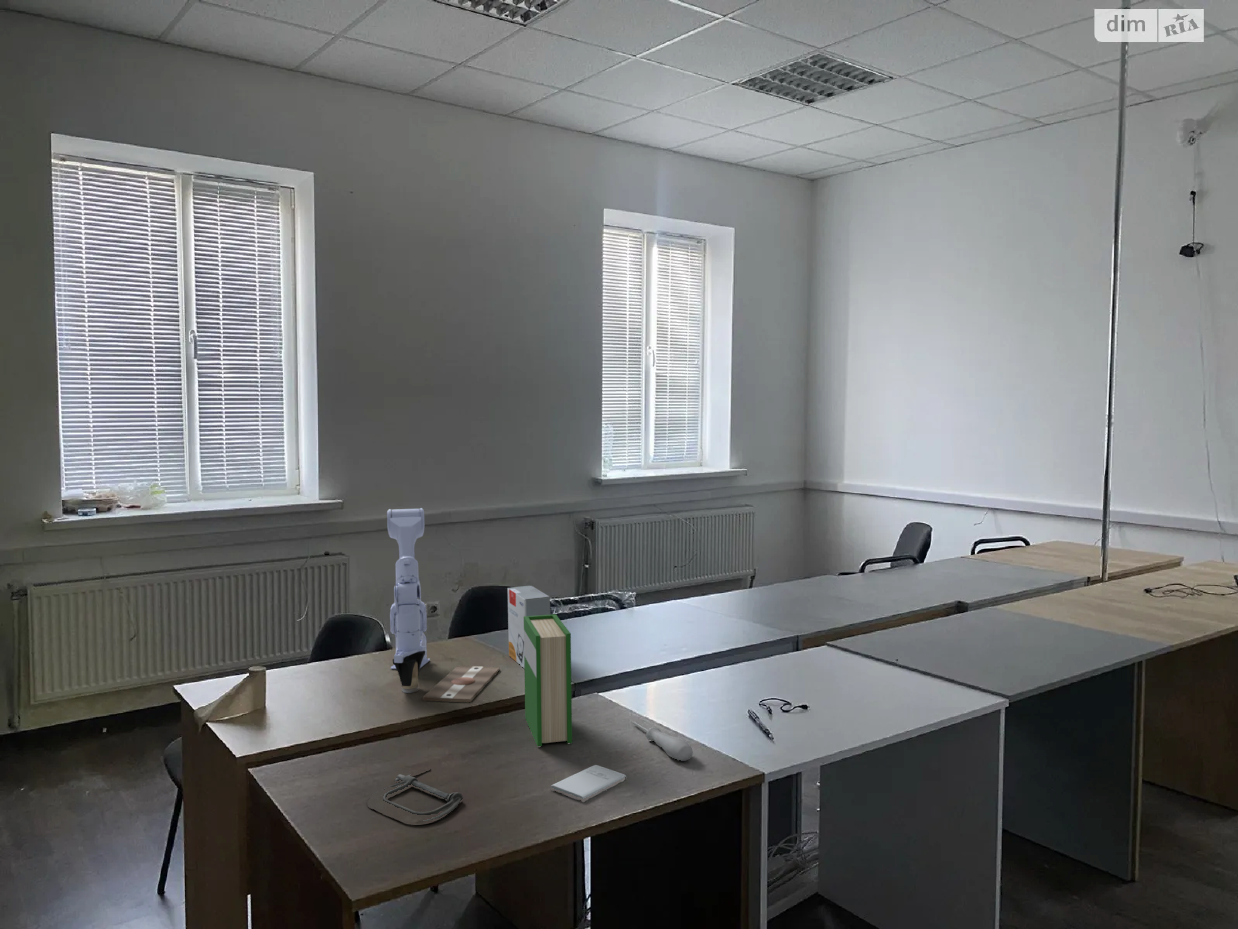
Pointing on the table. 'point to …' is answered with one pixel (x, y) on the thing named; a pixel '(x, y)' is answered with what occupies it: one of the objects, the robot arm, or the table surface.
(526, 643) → the hardback book
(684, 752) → the screwdriver
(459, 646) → the table surface
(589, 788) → the external hard drive
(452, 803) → the c clamp
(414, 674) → the tan cylinder
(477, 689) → the board
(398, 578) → the robot arm
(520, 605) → the hard drive box
